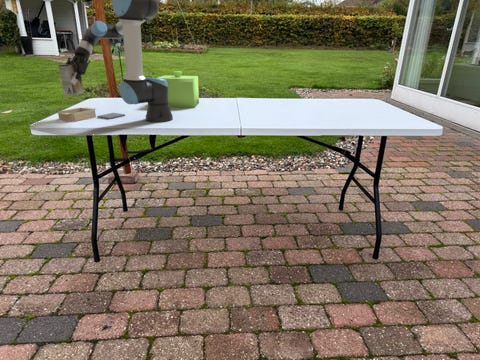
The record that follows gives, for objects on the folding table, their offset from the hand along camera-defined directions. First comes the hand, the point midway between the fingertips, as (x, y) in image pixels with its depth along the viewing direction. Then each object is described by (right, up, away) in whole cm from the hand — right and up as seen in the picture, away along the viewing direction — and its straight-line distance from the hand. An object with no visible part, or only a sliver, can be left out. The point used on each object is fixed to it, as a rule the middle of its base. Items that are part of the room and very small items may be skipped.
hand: (67, 83), depth 189 cm
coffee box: (+1, -5, +6) cm, 8 cm away
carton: (+1, -17, +11) cm, 20 cm away
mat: (+18, -16, +16) cm, 29 cm away
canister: (+52, 0, +57) cm, 77 cm away
